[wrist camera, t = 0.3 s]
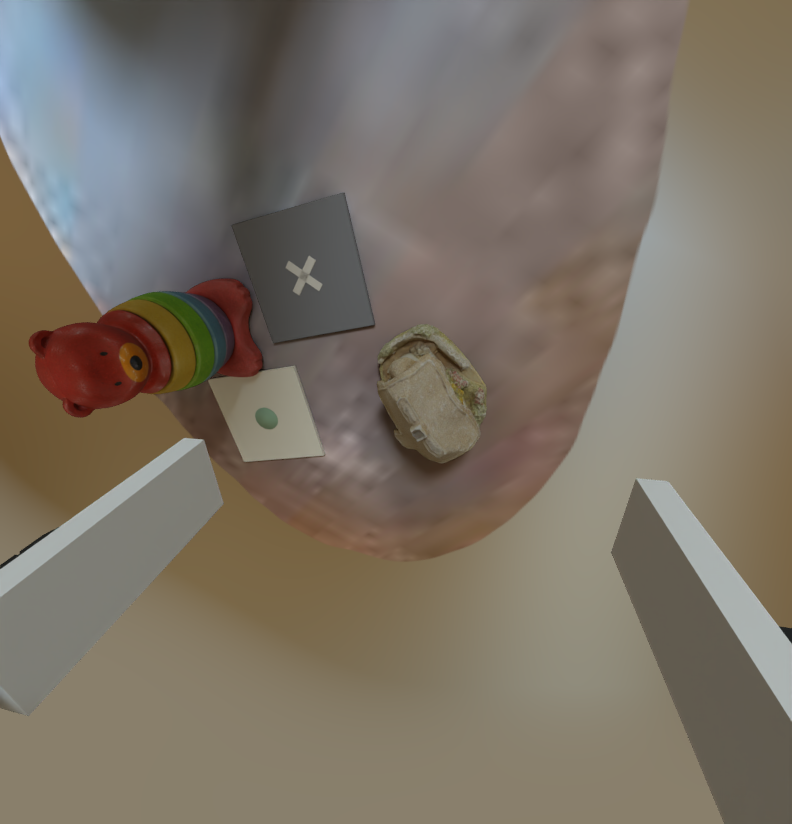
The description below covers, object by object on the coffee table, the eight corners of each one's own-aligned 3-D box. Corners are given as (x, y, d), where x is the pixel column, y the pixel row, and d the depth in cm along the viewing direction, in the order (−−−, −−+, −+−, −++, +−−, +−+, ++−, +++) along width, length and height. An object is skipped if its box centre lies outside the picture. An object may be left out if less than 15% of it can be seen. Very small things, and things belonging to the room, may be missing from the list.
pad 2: (209, 378, 45) (207, 380, 44) (295, 365, 41) (293, 366, 41) (245, 460, 49) (243, 462, 49) (325, 453, 46) (323, 455, 46)
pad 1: (233, 225, 36) (230, 225, 35) (344, 193, 33) (342, 192, 32) (274, 342, 41) (272, 343, 40) (375, 323, 37) (373, 325, 37)
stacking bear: (266, 376, 42) (137, 452, 26) (192, 372, 44) (31, 440, 29) (249, 278, 38) (81, 298, 22) (168, 279, 40) (-39, 298, 24)
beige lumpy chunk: (506, 420, 39) (514, 474, 31) (418, 456, 44) (404, 512, 35) (444, 306, 36) (433, 330, 27) (354, 358, 40) (320, 394, 31)
